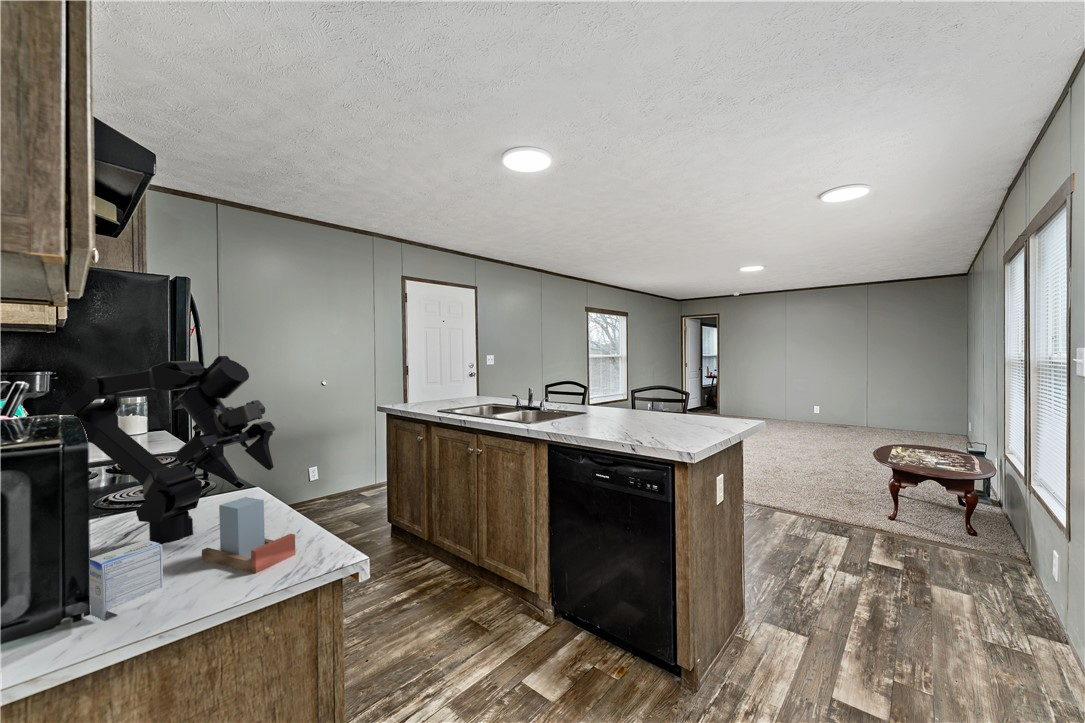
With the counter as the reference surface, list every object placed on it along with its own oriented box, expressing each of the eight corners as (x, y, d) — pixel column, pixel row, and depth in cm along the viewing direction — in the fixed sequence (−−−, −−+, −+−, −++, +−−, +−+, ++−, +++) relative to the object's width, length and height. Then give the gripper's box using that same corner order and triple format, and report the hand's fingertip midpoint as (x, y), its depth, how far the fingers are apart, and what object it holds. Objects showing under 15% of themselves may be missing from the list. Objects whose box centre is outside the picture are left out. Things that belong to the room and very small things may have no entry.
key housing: (197, 567, 85) (196, 539, 85) (244, 548, 94) (244, 522, 94) (253, 583, 80) (253, 553, 80) (299, 560, 88) (298, 533, 88)
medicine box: (148, 590, 78) (146, 538, 78) (164, 595, 76) (162, 543, 76) (87, 615, 71) (85, 558, 70) (104, 622, 69) (101, 564, 69)
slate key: (220, 558, 86) (219, 505, 86) (246, 547, 91) (245, 496, 90) (239, 563, 84) (237, 508, 84) (264, 552, 89) (263, 500, 88)
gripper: (194, 392, 83) (245, 462, 82) (270, 384, 101) (313, 441, 100) (153, 430, 84) (203, 499, 83) (236, 415, 103) (277, 471, 102)
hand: (254, 475), depth 92 cm, fingers open, 9 cm apart
